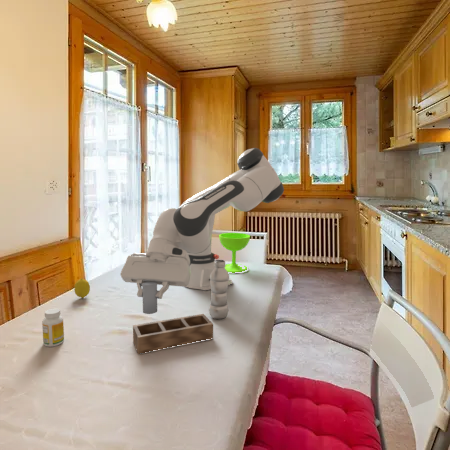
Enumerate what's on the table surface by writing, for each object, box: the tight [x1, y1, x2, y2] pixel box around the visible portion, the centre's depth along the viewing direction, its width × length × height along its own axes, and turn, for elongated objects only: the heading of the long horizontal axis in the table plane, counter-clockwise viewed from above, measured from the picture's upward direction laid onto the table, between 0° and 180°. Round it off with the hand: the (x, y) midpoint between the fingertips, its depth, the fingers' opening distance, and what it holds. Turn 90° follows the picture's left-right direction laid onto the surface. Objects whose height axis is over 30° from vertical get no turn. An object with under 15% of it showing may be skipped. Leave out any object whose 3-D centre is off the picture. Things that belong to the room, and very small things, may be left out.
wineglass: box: [218, 232, 251, 273], centre depth 175 cm, size 16×16×18 cm
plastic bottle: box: [208, 259, 230, 320], centre depth 116 cm, size 6×7×20 cm
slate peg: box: [141, 282, 158, 315], centre depth 95 cm, size 4×4×8 cm
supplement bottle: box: [41, 307, 65, 348], centre depth 97 cm, size 5×5×10 cm
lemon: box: [73, 277, 91, 299], centre depth 131 cm, size 6×6×8 cm
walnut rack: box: [132, 313, 214, 355], centre depth 100 cm, size 22×8×5 cm, turn 115°
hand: (149, 297), depth 95 cm, fingers closed on slate peg, 4 cm apart
